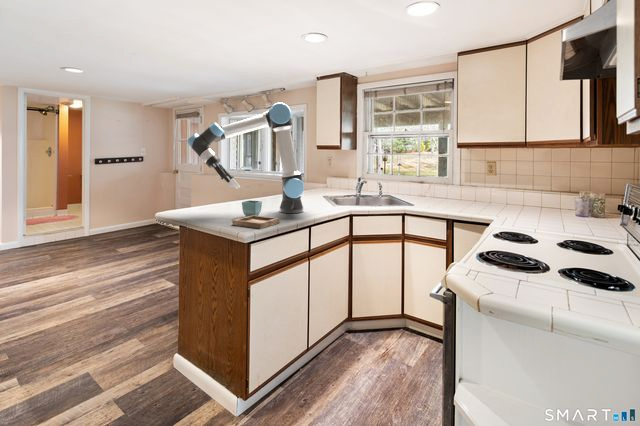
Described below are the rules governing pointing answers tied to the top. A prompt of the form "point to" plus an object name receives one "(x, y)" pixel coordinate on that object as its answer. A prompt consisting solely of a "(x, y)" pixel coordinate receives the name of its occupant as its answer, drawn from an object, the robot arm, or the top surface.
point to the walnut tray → (255, 221)
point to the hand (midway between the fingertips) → (236, 187)
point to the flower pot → (251, 207)
